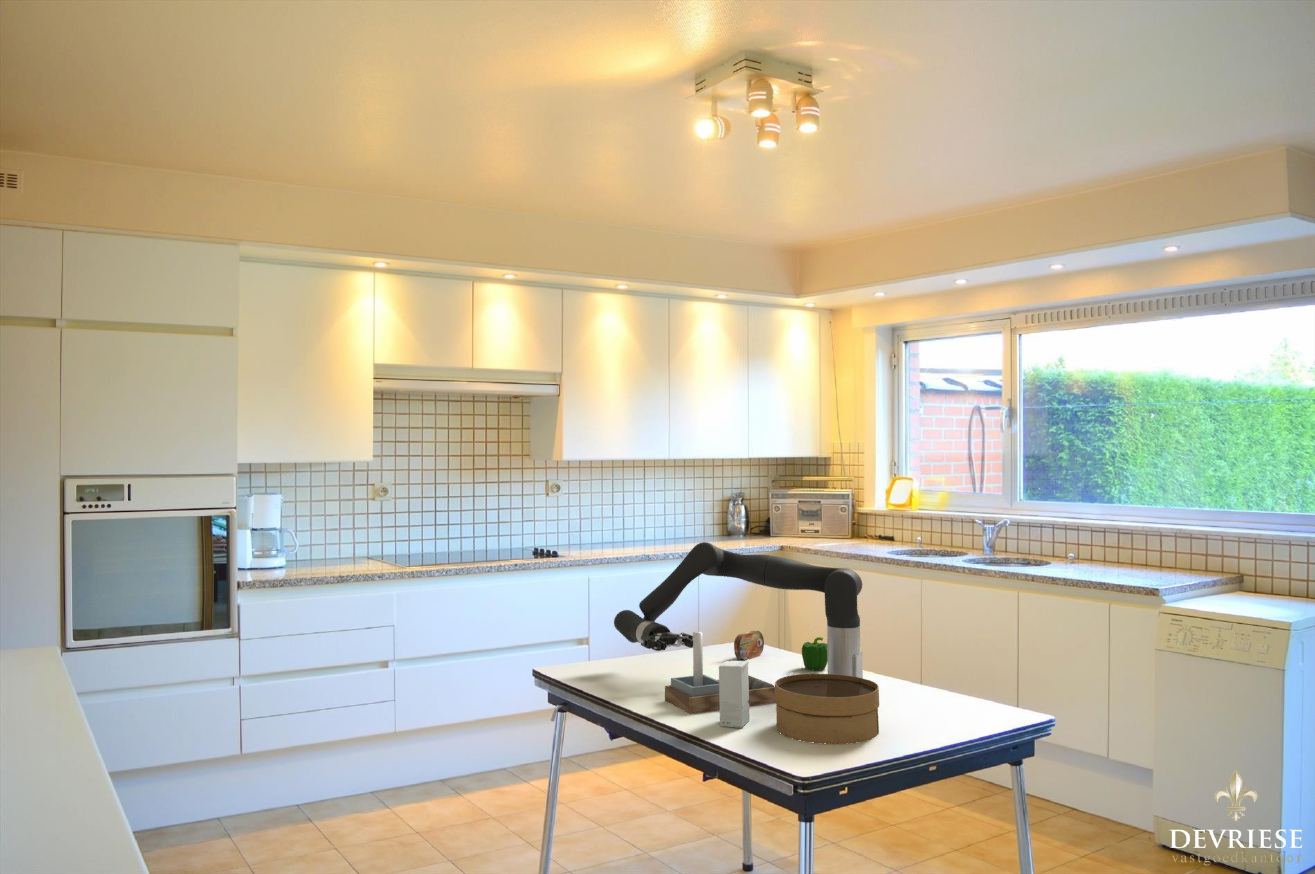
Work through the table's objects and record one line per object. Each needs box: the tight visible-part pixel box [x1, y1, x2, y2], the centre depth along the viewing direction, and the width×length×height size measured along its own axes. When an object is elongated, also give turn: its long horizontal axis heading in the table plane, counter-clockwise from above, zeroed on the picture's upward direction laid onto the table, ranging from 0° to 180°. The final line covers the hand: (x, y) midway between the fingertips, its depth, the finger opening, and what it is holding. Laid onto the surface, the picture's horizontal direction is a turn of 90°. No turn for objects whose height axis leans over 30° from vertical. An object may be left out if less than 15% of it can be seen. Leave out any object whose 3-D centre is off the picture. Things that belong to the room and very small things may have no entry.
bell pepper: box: [801, 636, 828, 671], centre depth 303 cm, size 8×8×10 cm
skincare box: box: [718, 660, 750, 729], centre depth 242 cm, size 8×6×15 cm
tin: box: [733, 630, 765, 661], centre depth 321 cm, size 15×3×8 cm, turn 143°
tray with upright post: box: [670, 631, 719, 697], centre depth 260 cm, size 10×12×18 cm
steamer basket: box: [774, 673, 880, 745], centre depth 236 cm, size 25×25×11 cm
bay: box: [664, 674, 776, 715], centre depth 263 cm, size 26×15×5 cm, turn 116°
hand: (678, 645), depth 271 cm, fingers open, 8 cm apart
